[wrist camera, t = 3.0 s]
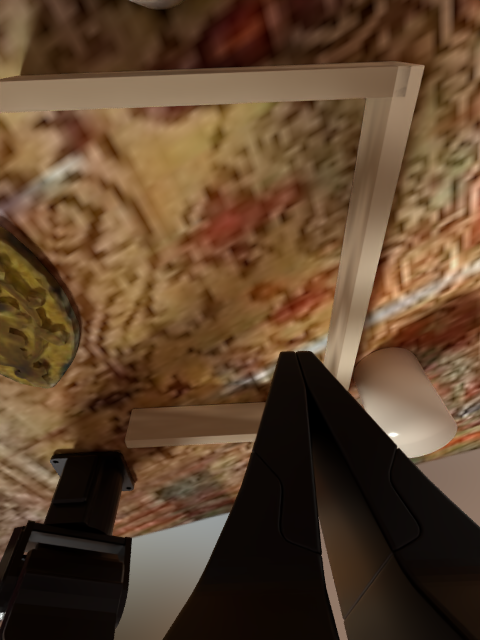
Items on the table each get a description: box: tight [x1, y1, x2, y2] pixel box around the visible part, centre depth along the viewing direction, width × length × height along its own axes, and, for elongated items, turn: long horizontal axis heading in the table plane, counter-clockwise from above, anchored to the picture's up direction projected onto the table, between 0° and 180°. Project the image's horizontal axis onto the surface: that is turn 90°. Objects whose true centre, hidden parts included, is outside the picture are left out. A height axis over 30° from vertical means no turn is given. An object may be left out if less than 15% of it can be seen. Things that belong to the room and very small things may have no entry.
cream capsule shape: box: [353, 347, 457, 458], centre depth 26 cm, size 5×5×6 cm
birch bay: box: [0, 61, 425, 448], centre depth 22 cm, size 24×16×3 cm
